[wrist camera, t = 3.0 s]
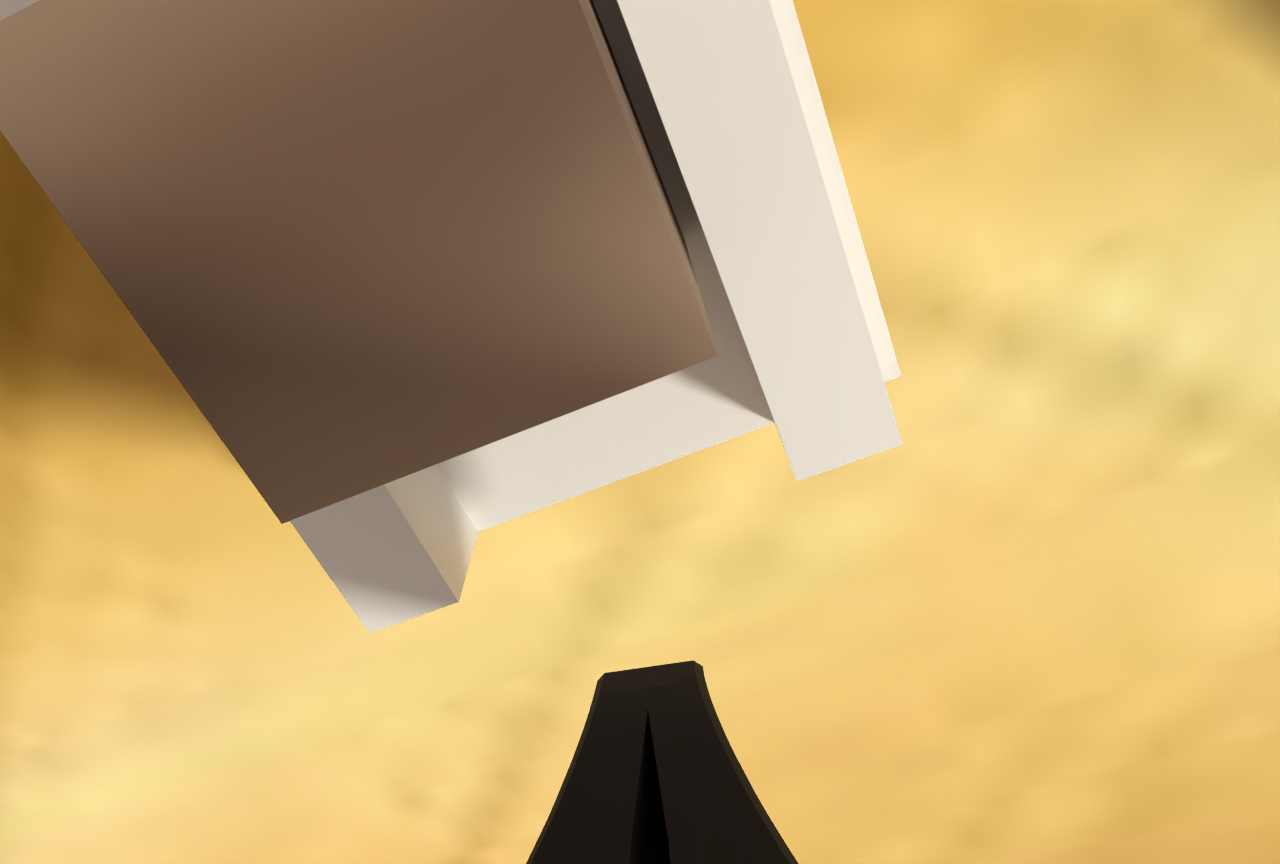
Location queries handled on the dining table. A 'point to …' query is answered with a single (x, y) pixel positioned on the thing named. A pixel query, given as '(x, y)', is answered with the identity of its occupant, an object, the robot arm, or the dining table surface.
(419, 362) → the walnut block
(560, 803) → the robot arm
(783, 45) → the chute
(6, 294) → the dining table surface
